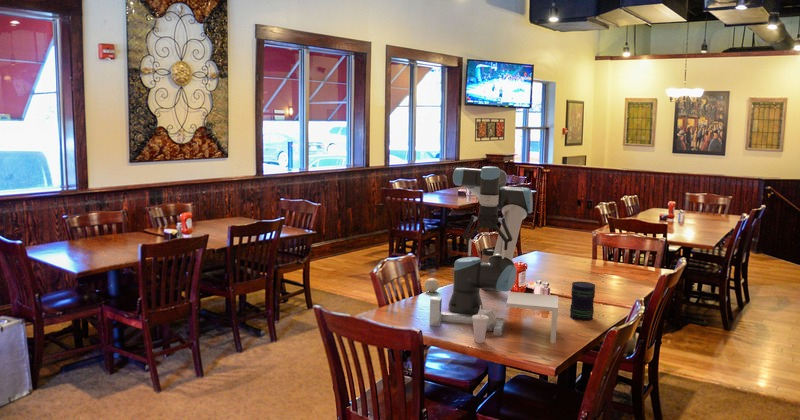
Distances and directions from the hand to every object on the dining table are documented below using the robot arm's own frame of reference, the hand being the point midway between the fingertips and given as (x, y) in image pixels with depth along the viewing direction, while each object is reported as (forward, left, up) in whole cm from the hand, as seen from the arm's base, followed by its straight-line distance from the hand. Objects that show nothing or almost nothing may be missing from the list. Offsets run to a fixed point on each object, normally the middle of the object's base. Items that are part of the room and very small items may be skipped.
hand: (486, 256), depth 279 cm
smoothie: (+1, -21, -29) cm, 36 cm away
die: (+2, -6, -29) cm, 30 cm away
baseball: (-30, +45, -29) cm, 61 cm away
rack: (+20, -5, -29) cm, 35 cm away
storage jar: (+40, +24, -29) cm, 55 cm away
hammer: (-6, -5, -29) cm, 30 cm away
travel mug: (-4, +60, -29) cm, 67 cm away
